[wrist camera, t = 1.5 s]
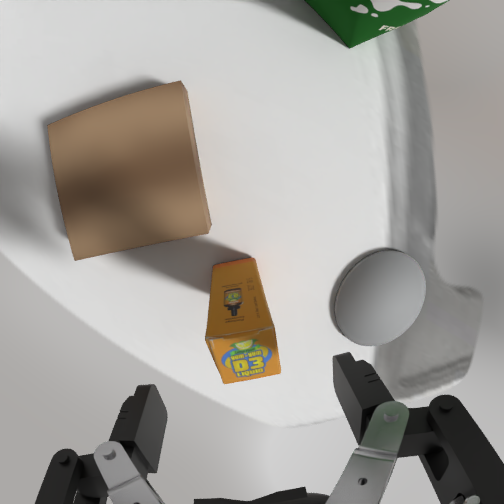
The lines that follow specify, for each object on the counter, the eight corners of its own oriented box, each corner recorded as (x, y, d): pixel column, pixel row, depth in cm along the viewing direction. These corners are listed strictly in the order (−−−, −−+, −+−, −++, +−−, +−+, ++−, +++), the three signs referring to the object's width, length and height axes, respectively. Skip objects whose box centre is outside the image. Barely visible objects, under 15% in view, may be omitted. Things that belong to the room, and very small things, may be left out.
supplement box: (221, 304, 24) (218, 388, 14) (212, 263, 23) (200, 332, 13) (263, 296, 24) (283, 377, 14) (256, 255, 23) (273, 319, 13)
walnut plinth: (67, 128, 19) (47, 125, 16) (187, 91, 19) (180, 80, 16) (91, 249, 22) (74, 260, 19) (211, 224, 22) (208, 233, 19)
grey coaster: (331, 261, 24) (332, 263, 23) (424, 241, 24) (427, 243, 23) (336, 353, 26) (338, 356, 26) (419, 329, 26) (421, 331, 26)
